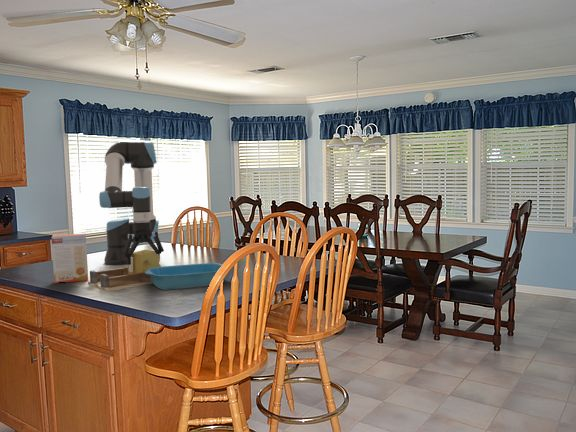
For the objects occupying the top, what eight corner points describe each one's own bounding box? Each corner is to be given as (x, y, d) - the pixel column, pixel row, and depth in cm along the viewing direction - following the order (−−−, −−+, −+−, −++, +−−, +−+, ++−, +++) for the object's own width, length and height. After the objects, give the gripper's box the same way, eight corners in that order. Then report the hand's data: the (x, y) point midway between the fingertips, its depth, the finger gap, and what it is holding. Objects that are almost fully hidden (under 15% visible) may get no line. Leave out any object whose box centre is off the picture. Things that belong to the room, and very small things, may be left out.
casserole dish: (222, 275, 240) (222, 260, 240) (238, 285, 220) (237, 268, 220) (141, 283, 225) (140, 267, 224) (150, 294, 205) (149, 276, 204)
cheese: (161, 272, 233) (160, 251, 233) (142, 277, 225) (141, 254, 224) (145, 270, 239) (144, 249, 238) (126, 274, 230) (125, 252, 229)
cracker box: (88, 278, 236) (86, 233, 234) (88, 281, 230) (85, 234, 229) (54, 281, 231) (52, 234, 229) (53, 283, 226) (51, 236, 224)
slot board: (87, 283, 225) (87, 270, 224) (146, 274, 244) (146, 261, 243) (107, 291, 210) (106, 276, 210) (168, 280, 229) (168, 267, 229)
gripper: (120, 224, 219) (122, 274, 221) (170, 220, 235) (172, 267, 237) (112, 223, 224) (114, 272, 226) (162, 219, 241) (163, 265, 243)
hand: (144, 269), depth 232 cm, fingers closed on cheese, 12 cm apart
